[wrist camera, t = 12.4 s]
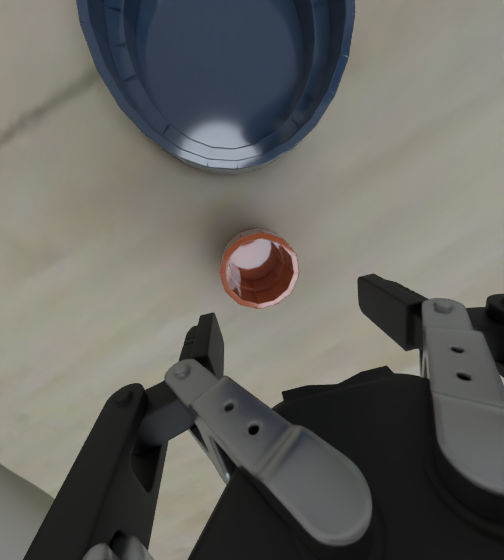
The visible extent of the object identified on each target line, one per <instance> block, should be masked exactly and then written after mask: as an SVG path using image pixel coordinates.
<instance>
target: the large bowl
mask: <svg viewBox="0 0 504 560" xmlns="http://www.w3.org/2000/svg"><path fill="white" fill-rule="evenodd" d="M76 1H77V8H78V14H79V21H80V25H81V28H82V30H83V33H84V36H85V39H86V41H87V44H88V47H89V50H90V52H91V55H92V58H93V61H94V63H95V66H96V68H97V71H98V73H99V74H100V76H101V78H102V79H103V81H104V82H105V84H106V86H107V87H108V89H109V91H110V92H111V94H112V96H113V97H114V99H115V101H116V102H117V104H118V106H119V107H120V108H121V110H122V111H123V112H124V113H125V114H126V115H127V116H128V117H129V118H130V119H131V120H132V121H133V122H134V123H135V125H136V126H137V127H138V128H139V129H140V130H141V131H142V132H143V133H144V134H145V135H146V136H147V137H148V138H149V139H151V140H152V141H153V142H155V143H156V144H157V145H159V146H160V147H161V148H163V149H164V150H165V151H167V152H168V153H170V154H171V155H173V156H174V157H176V158H177V159H179V160H180V161H182V162H183V163H185V164H187V165H189V166H191V167H194V168H197V169H200V170H203V171H206V172H208V173H213V174H229V175H237V174H241V173H246V172H250V171H254V170H258V169H260V168H262V167H264V166H266V165H268V164H269V163H271V162H273V161H275V160H276V159H278V158H280V157H281V156H283V155H284V154H285V153H287V152H288V151H290V150H291V149H292V148H294V147H295V146H296V145H297V144H298V143H299V142H300V141H301V140H302V139H303V138H304V137H305V136H306V135H307V134H308V133H309V132H310V131H311V130H312V129H313V128H314V127H315V126H316V125H317V123H318V122H319V120H320V119H321V117H322V115H323V114H324V112H325V111H326V109H327V107H328V106H329V104H330V103H331V101H332V99H333V98H334V96H335V94H336V91H337V89H338V86H339V83H340V80H341V77H342V75H343V72H344V69H345V66H346V64H347V61H348V57H349V51H350V44H351V38H352V31H353V24H354V18H355V0H76Z"/></svg>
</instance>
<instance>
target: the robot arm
mask: <svg viewBox="0 0 504 560" xmlns="http://www.w3.org/2000/svg"><path fill="white" fill-rule="evenodd" d="M358 299H359V306H360V309H361V311H362V312H363V314H364V315H366V316H367V317H368V318H369V319H370V320H371V321H372V322H374V323H375V324H376V325H377V326H378V327H379V328H380V329H381V330H383V331H384V332H385V333H386V334H387V335H388V336H389V337H391V338H392V339H393V340H394V341H395V342H396V343H397V344H398V345H400V346H401V347H402V348H403V349H404V350H405V351H409V350H413V349H417V348H418V349H419V364H420V376H415V375H409V374H398V373H393V372H392V371H391V370H390V369H389V368H388V366H383V367H379V368H375V369H371V370H367V371H363V372H360V373H358V374H356V375H354V376H352V377H351V378H349V379H347V380H345V381H343V382H341V383H339V384H333V385H307V386H303V387H299V388H295V389H291V390H287V391H283V392H282V395H283V400H284V401H282V402H280V403H279V404H277V405H276V406H274V407H273V408H272V409H271V408H270V407H268V406H267V405H266V404H264V403H263V402H262V401H260V400H259V399H258V398H256V397H255V396H254V395H252V394H251V393H250V392H248V391H247V390H245V389H244V388H243V387H241V386H240V385H239V384H237V383H236V382H235V381H233V380H232V379H231V378H229V377H228V376H223V371H224V342H223V337H222V334H221V331H220V328H219V325H218V322H217V318H216V315H215V313H214V312H213V313H209V314H205V315H201V316H200V318H199V323H198V325H197V326H193V327H192V328H191V329H190V330H189V331H188V333H187V335H186V338H185V342H184V346H183V348H182V352H181V355H180V358H179V362H177V363H176V364H174V365H173V366H172V367H171V368H169V370H168V371H167V372H166V374H165V380H164V381H163V382H161V383H159V384H157V385H155V386H153V387H151V388H149V389H146V390H144V388H143V386H142V385H141V384H139V383H133V384H129V385H127V386H124V387H123V388H121V389H119V390H118V391H116V392H115V393H114V394H113V395H112V396H111V397H110V398H109V399H108V400H107V402H106V403H105V405H104V407H103V409H102V411H101V413H100V415H99V417H98V419H97V420H96V422H95V424H94V426H93V428H92V430H91V432H90V434H89V436H88V437H87V439H86V441H85V443H84V445H83V447H82V449H81V451H80V453H79V454H78V456H77V458H76V460H75V462H74V464H73V466H72V468H71V470H70V472H69V473H68V475H67V477H66V479H65V481H64V483H63V485H62V487H61V489H60V490H59V492H58V494H57V496H56V498H55V500H54V502H53V504H52V506H51V508H50V510H49V511H48V513H47V515H46V517H45V519H44V521H43V523H42V525H41V527H40V528H39V530H38V532H37V534H36V536H35V538H34V540H33V542H32V543H31V545H30V547H29V549H28V551H27V553H26V555H25V557H24V559H23V560H154V559H153V557H152V556H151V555H150V553H149V552H148V547H149V542H150V536H151V531H152V526H153V520H154V515H155V510H156V504H157V499H158V494H159V488H160V483H161V478H162V472H163V467H164V462H165V456H166V451H167V446H168V441H169V440H170V439H172V438H174V437H176V436H177V435H179V434H181V433H183V432H184V431H186V430H188V431H189V432H190V433H191V435H192V436H193V437H194V439H195V440H196V441H197V443H198V444H199V445H200V447H201V448H202V449H203V451H204V452H205V453H206V455H207V456H208V457H209V459H210V460H211V461H212V463H213V464H214V466H215V468H216V470H217V471H218V473H219V475H220V476H221V478H222V479H223V481H224V482H225V484H226V485H227V486H226V488H225V489H224V491H223V493H222V495H221V497H220V499H219V501H218V503H217V505H216V507H215V508H214V510H213V512H212V514H211V516H210V518H209V520H208V522H207V524H206V526H205V527H204V529H203V531H202V533H201V535H200V537H199V539H198V541H197V543H196V545H195V546H194V548H193V550H192V552H191V554H190V556H189V558H188V560H504V385H503V382H502V380H501V377H500V375H501V376H502V377H504V294H495V295H491V296H489V297H488V298H487V301H486V307H476V308H466V307H465V306H464V305H463V304H461V303H459V302H457V301H454V300H450V299H444V298H433V299H427V298H425V297H423V296H422V295H420V294H418V293H416V292H414V291H412V290H411V291H410V289H408V288H406V287H404V286H402V285H400V284H399V283H397V282H393V281H389V280H385V279H383V278H381V277H379V276H377V275H375V274H369V275H365V276H361V277H359V278H358ZM499 374H500V375H499Z"/></svg>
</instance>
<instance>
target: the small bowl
mask: <svg viewBox="0 0 504 560" xmlns="http://www.w3.org/2000/svg"><path fill="white" fill-rule="evenodd" d="M298 275H299V267H298V260H297V255H296V253H295V251H294V250H293V249H292V248H291V247H290V246H289V244H288V243H287V242H286V241H285V240H284V239H283V238H282V237H280V236H279V235H278V234H276V233H273V232H270V231H267V230H264V229H261V228H259V229H258V228H256V229H249V230H245V231H242V232H240V233H238V234H237V235H236V236H235V237H234V238H233V239H232V240H231V241H230V242H229V243H228V244H227V245H226V246H225V248H224V252H223V255H222V259H221V262H220V276H221V280H222V283H223V287H224V290H225V292H226V293H227V294H228V295H229V296H230V297H231V298H233V299H234V300H235V301H236V302H237V303H238V304H240V305H243V306H247V307H252V308H256V309H257V308H258V309H260V308H264V307H268V306H272V305H276V303H277V304H278V303H279V302H280V301H282V300H283V299H284V298H285V297H286V296H287V295H289V294H290V293H291V291H292V290H293V288H294V285H295V283H296V280H297V278H298Z"/></svg>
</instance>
